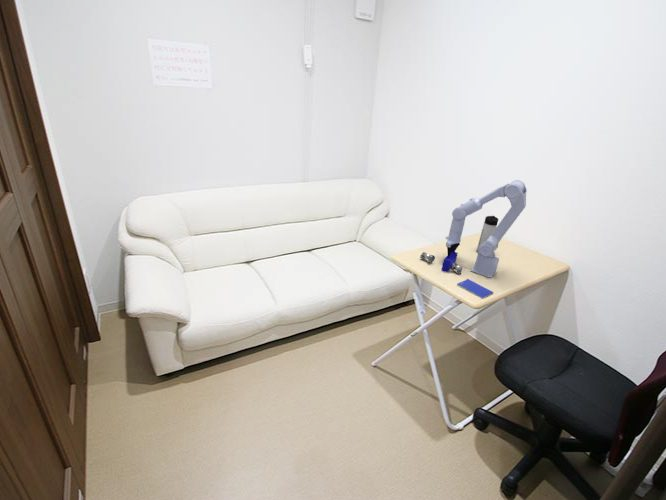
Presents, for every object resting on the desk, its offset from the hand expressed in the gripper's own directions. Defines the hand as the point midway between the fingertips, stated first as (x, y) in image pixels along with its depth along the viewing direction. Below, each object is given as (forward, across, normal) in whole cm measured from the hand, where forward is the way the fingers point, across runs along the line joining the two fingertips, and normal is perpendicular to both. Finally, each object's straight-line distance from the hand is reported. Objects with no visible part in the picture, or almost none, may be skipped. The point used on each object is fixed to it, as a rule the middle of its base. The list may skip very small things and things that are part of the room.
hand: (450, 256), depth 172 cm
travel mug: (+3, -24, +10) cm, 26 cm away
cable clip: (+3, +8, +2) cm, 8 cm away
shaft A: (+2, +10, +7) cm, 13 cm away
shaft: (+2, +9, -8) cm, 12 cm away
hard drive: (+3, +20, +19) cm, 28 cm away
